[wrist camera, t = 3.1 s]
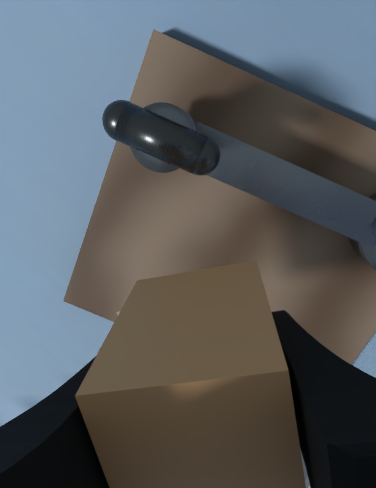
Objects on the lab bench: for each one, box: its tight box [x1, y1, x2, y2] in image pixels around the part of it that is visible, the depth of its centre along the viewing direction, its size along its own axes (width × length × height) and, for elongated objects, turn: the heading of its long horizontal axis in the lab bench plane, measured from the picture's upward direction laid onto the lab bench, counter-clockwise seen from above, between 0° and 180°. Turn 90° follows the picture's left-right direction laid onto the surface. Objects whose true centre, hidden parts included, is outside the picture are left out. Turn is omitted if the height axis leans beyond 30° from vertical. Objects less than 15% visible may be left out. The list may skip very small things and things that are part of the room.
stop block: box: [75, 261, 306, 488], centre depth 11 cm, size 4×4×6 cm
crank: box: [102, 100, 376, 270], centre depth 15 cm, size 16×4×6 cm, turn 67°
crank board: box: [64, 30, 376, 365], centre depth 20 cm, size 18×16×1 cm
